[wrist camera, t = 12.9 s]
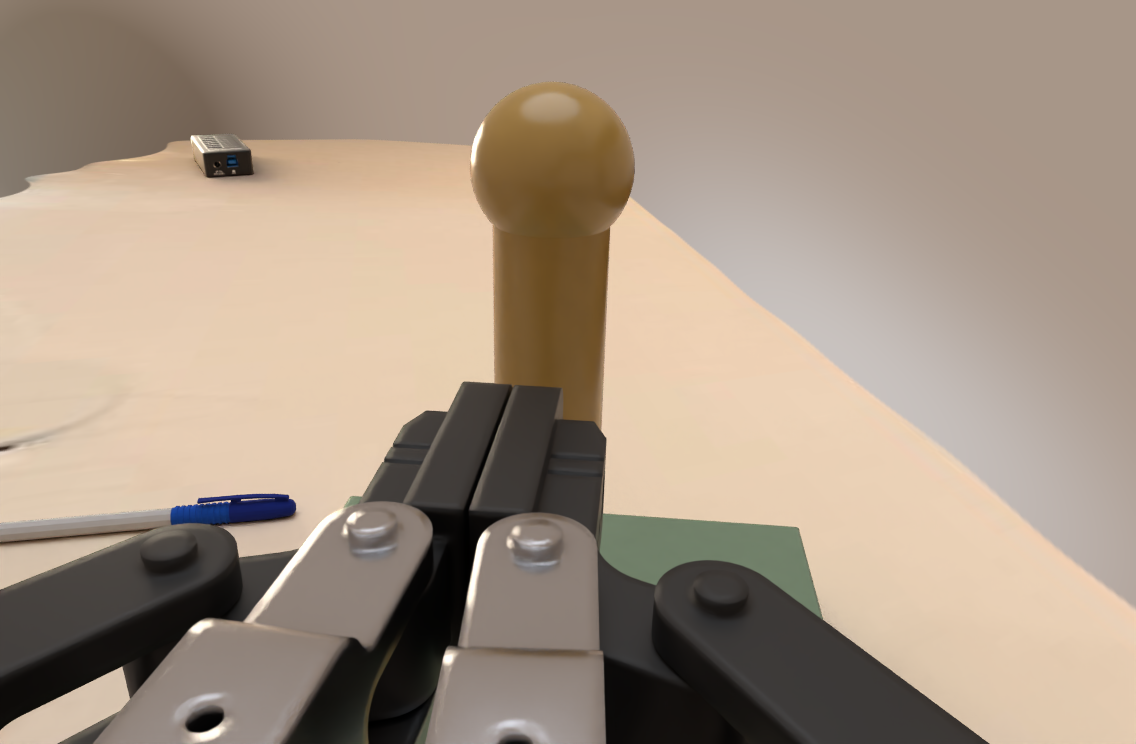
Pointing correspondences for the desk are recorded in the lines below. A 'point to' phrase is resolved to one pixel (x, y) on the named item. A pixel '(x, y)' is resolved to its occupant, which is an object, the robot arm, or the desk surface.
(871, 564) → the desk surface
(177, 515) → the ballpoint pen
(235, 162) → the multiport hub
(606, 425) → the desk surface
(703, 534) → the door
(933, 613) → the desk surface
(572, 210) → the yellow lever
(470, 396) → the robot arm
